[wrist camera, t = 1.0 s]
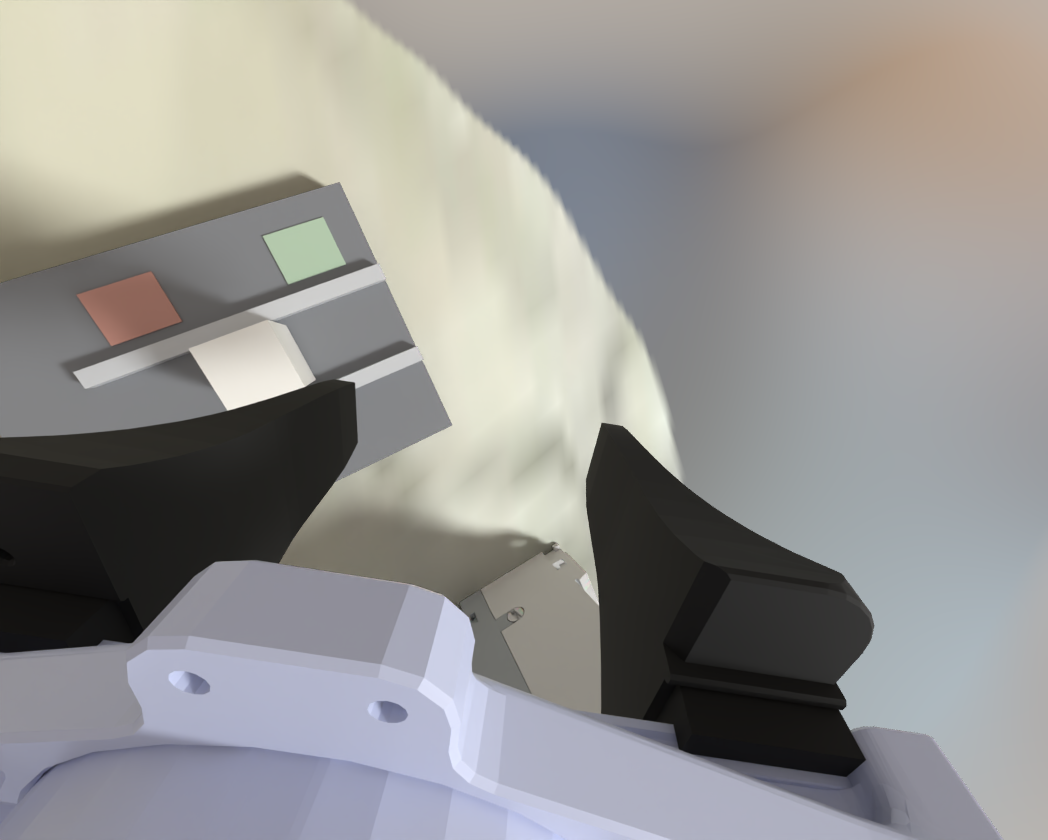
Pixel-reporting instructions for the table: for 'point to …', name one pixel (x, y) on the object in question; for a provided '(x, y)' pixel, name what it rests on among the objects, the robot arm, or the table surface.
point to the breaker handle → (253, 364)
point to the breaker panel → (212, 326)
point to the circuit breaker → (540, 631)
